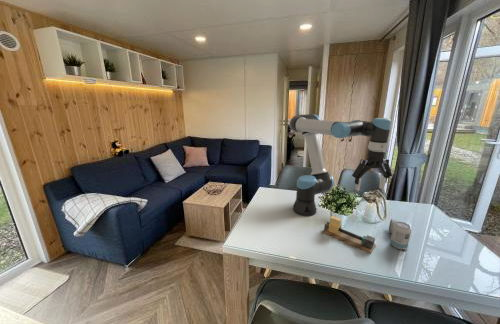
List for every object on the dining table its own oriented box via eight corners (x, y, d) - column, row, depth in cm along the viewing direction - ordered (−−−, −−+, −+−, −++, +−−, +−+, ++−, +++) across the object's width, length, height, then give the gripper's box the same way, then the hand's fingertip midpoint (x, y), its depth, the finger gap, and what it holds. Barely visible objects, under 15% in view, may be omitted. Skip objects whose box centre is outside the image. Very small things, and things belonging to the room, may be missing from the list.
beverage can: (405, 243, 102) (409, 222, 99) (408, 252, 96) (414, 230, 93) (388, 240, 105) (392, 219, 102) (391, 248, 99) (395, 227, 96)
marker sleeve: (328, 230, 111) (329, 218, 109) (331, 227, 114) (333, 215, 112) (337, 234, 107) (338, 221, 105) (340, 231, 110) (342, 218, 108)
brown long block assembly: (322, 232, 112) (322, 223, 110) (328, 226, 117) (329, 218, 116) (370, 254, 95) (372, 244, 94) (375, 246, 101) (377, 236, 99)
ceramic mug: (407, 240, 104) (410, 227, 102) (388, 235, 109) (390, 222, 107) (405, 230, 113) (408, 218, 111) (388, 225, 117) (390, 213, 115)
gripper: (357, 152, 96) (350, 193, 102) (406, 151, 98) (396, 191, 104) (348, 148, 103) (343, 187, 109) (394, 147, 105) (386, 185, 111)
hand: (369, 189), depth 107 cm, fingers open, 13 cm apart
